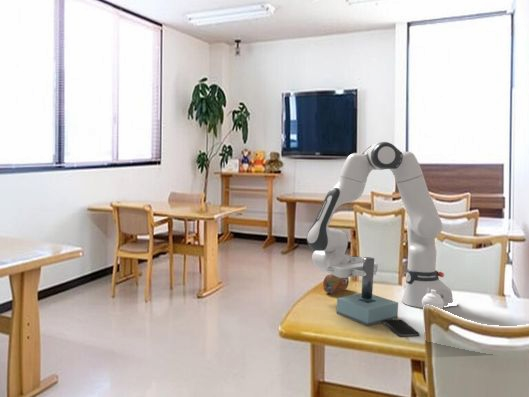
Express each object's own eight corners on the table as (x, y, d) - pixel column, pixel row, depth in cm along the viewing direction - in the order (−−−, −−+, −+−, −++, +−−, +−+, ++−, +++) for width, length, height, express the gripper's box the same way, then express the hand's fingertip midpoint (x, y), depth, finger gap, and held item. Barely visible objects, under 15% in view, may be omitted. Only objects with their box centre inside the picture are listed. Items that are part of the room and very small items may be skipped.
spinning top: (417, 321, 184) (418, 289, 183) (426, 316, 190) (428, 286, 189) (437, 326, 179) (439, 294, 178) (446, 321, 185) (448, 290, 184)
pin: (369, 295, 191) (371, 257, 190) (373, 298, 187) (376, 259, 186) (359, 295, 190) (361, 257, 189) (364, 299, 186) (366, 259, 185)
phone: (399, 334, 168) (381, 320, 183) (398, 338, 168) (381, 323, 183) (421, 334, 169) (401, 319, 184) (420, 337, 169) (401, 322, 184)
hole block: (365, 306, 200) (366, 292, 200) (397, 318, 188) (398, 302, 187) (336, 313, 191) (337, 298, 191) (367, 325, 178) (368, 309, 178)
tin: (327, 295, 216) (327, 276, 215) (321, 293, 218) (322, 274, 217) (348, 289, 226) (349, 271, 225) (343, 288, 228) (344, 270, 227)
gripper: (324, 260, 192) (350, 268, 181) (362, 255, 204) (388, 262, 193) (323, 276, 193) (349, 285, 181) (361, 270, 204) (387, 278, 193)
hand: (369, 273), depth 187 cm, fingers closed on pin, 4 cm apart
